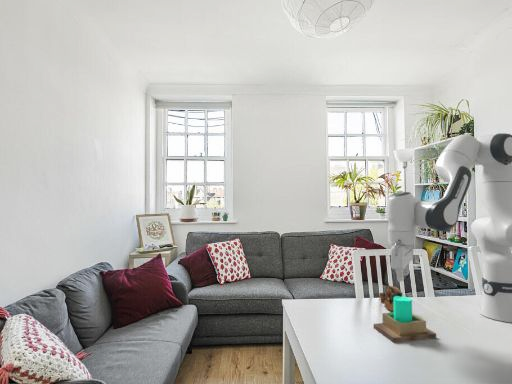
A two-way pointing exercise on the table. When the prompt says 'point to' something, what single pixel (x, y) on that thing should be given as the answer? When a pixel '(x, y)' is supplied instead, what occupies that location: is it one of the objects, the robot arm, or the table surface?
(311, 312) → the table surface
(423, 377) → the table surface
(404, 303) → the candle
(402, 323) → the candle stand
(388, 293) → the wooden carving
